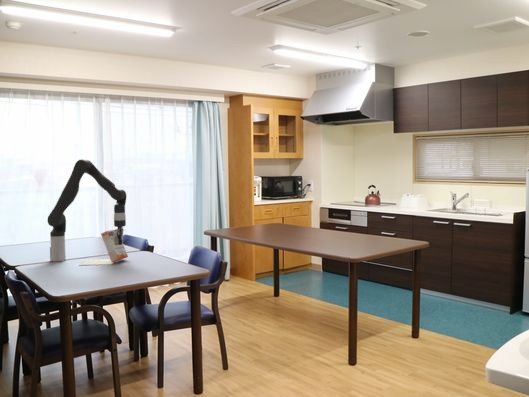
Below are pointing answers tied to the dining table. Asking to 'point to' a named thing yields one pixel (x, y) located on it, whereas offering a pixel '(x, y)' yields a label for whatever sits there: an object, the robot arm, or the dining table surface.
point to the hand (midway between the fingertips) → (120, 244)
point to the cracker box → (114, 246)
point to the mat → (97, 262)
